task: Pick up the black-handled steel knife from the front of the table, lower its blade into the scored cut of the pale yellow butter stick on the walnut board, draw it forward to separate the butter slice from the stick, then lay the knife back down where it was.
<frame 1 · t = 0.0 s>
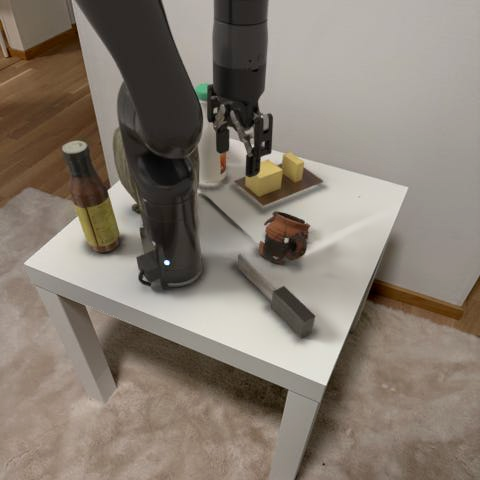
hand: (237, 163, 73), 17 cm above the table, tool pointing down, fingers open, 8 cm apart
milk bottle: (209, 180, 101), on the table
sauce bottle: (104, 244, 85), on the table
butter slice: (291, 176, 100), point 1 cm above the table, touching butter board
butter board: (278, 186, 99), on the table
butter stick: (262, 187, 96), resting on butter board
tabletop clock: (165, 211, 93), on the table
pottery mug: (285, 252, 85), on the table
knife: (290, 319, 74), on the table
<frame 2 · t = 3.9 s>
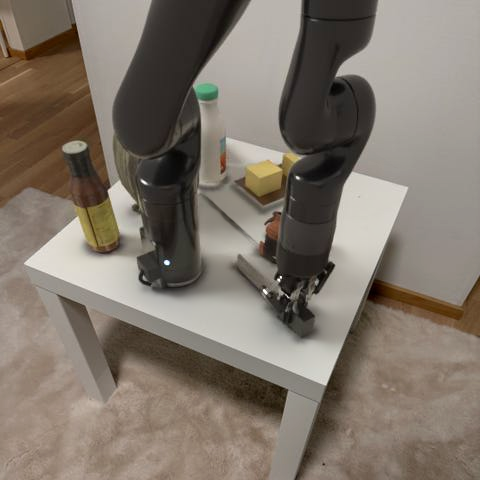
hand: (291, 317, 74), 1 cm above the table, tool pointing down, fingers closed on knife, 2 cm apart
knife: (290, 319, 74), on the table, touching gripper
everything else where it was.
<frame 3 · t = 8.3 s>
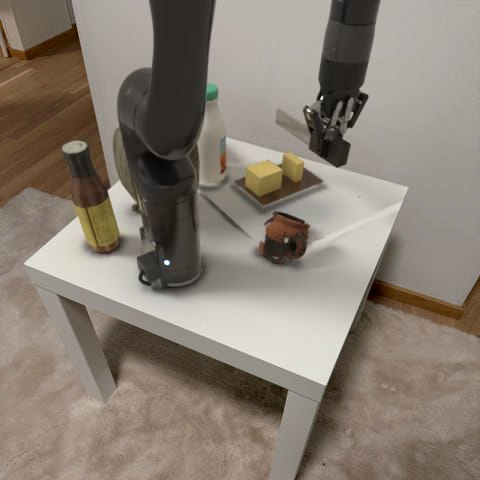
hand: (327, 153, 82), 14 cm above the table, tool pointing down, fingers closed on knife, 2 cm apart
knife: (327, 156, 83), point 13 cm above the table, touching gripper
everything else where it was.
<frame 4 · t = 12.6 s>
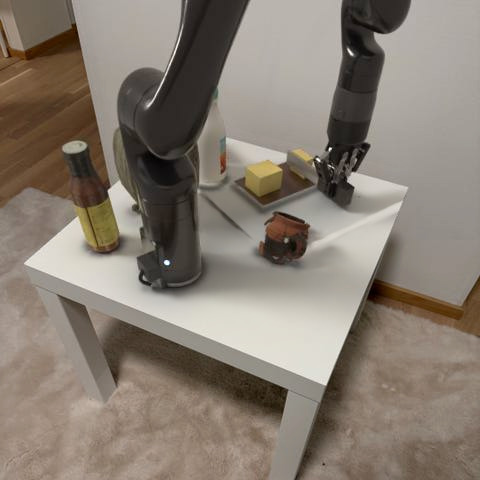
hand: (333, 193, 92), 3 cm above the table, tool pointing down, fingers closed on knife, 2 cm apart
butter slice: (300, 172, 101), point 2 cm above the table, touching butter board, knife
knife: (333, 196, 93), point 3 cm above the table, touching butter slice, gripper
everything else where it was.
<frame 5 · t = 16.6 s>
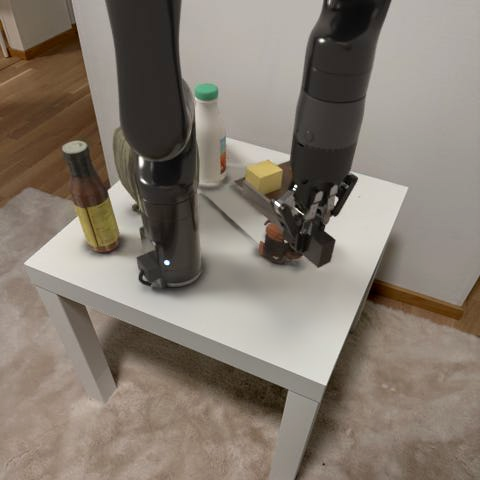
hand: (305, 245, 64), 15 cm above the table, tool pointing down, fingers closed on knife, 2 cm apart
butter slice: (300, 172, 101), point 1 cm above the table, touching butter board
knife: (305, 249, 64), point 14 cm above the table, touching gripper
everything else where it was.
when the fingers open (0 cm above the table, at t = 19.9 s): knife stays where it is, on the table.
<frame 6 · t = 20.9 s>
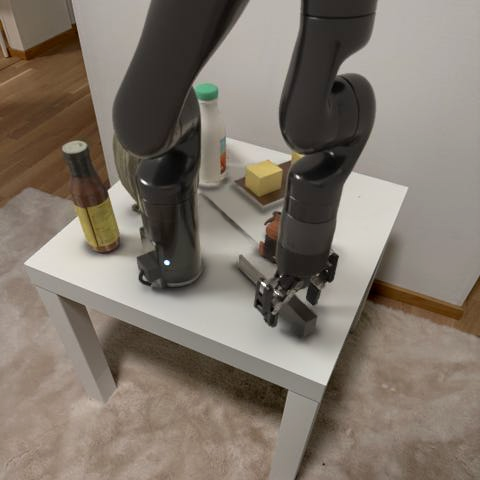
hand: (291, 312, 73), 2 cm above the table, tool pointing down, fingers open, 8 cm apart
knife: (292, 319, 74), on the table
everything else where it was.
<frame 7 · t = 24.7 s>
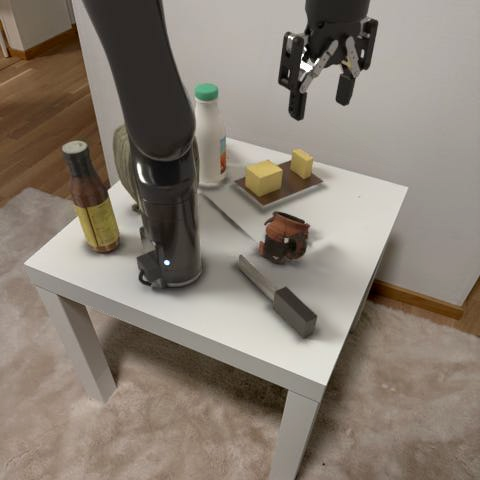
hand: (319, 110, 62), 28 cm above the table, tool pointing down, fingers open, 8 cm apart
nothing on the table moved.
at the end: butter slice 0.5 cm from the target spot on the table beside the butter stick, resting on butter board; the gripper is holding nothing; knife on the table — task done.
